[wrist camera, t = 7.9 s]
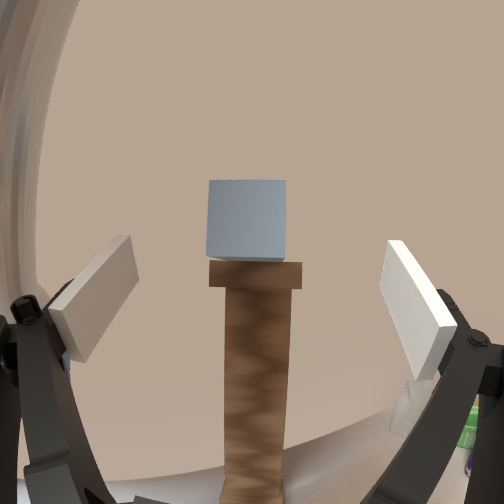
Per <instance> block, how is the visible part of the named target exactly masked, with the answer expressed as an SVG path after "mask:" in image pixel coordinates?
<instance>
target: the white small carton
mask: <svg viewBox="0 0 504 504" xmlns="http://www.w3.org/2000/svg"><path fill="white" fill-rule="evenodd" d="M431 395H432V390H431V385H430V381H429V380H424V381H415V378H413V379H411V380H409V381H407V382H406V384H405V387H404V389H403V391H402V393H401V394H400V395H399V397H398V399H397V400H396V401H395V407H394V412H393V418H392V423H391V428H390V432H392V433H395V434H397V435H400V436H402V437H405V438H407V437H408V435H409V434H410V432H411V430H412V429H413V427H414V425H415V424H416V422H417V420H418V419H419V417H420V415H421V413H422V412H423V410H424V408H425V406H426V404H427V402H428V401H429V399H430V397H431Z"/></svg>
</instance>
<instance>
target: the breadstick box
mask: <svg viewBox="0 0 504 504" xmlns="http://www.w3.org/2000/svg"><path fill="white" fill-rule="evenodd" d="M208 197H209V198H208V217H207V218H208V219H207V242H206V256H208V257H213V258H218V259H223V260H228V261H258V262H283V260H284V258H285V225H286V222H285V221H286V217H285V216H286V180H209V196H208Z"/></svg>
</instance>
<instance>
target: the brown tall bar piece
mask: <svg viewBox="0 0 504 504" xmlns="http://www.w3.org/2000/svg"><path fill="white" fill-rule="evenodd" d="M209 268H210V269H209V286H210V287H226V296H225V297H226V298H225V360H224V362H225V365H224V366H225V367H224V369H225V370H224V372H225V373H224V374H225V375H224V442H225V443H224V444H225V446H224V449H225V481H224V485H223V489H222V492H221V496H220V499H219V502H220V504H283V479H280V478H281V467H282V455H283V442H284V429H285V415H286V401H287V384H288V367H289V346H290V322H291V293H292V292H291V291H292V289H302V286H301V285H302V262H258V261H215V260H210V266H209Z"/></svg>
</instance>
